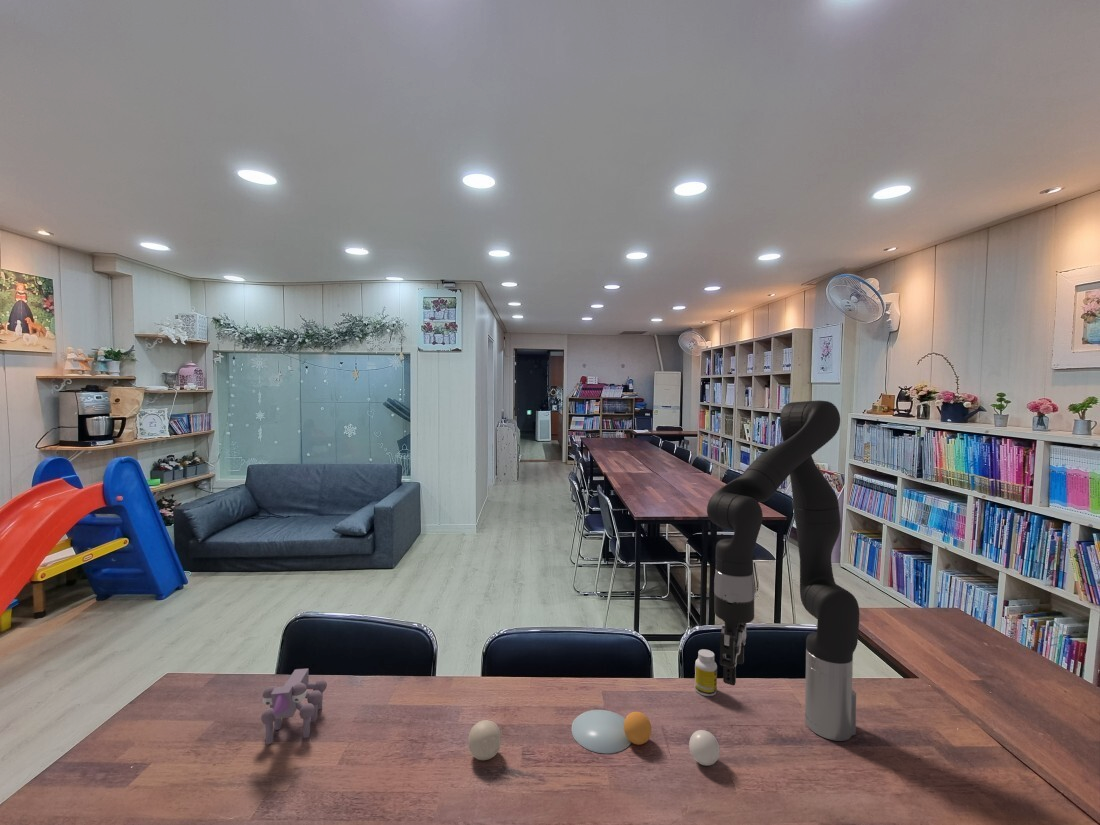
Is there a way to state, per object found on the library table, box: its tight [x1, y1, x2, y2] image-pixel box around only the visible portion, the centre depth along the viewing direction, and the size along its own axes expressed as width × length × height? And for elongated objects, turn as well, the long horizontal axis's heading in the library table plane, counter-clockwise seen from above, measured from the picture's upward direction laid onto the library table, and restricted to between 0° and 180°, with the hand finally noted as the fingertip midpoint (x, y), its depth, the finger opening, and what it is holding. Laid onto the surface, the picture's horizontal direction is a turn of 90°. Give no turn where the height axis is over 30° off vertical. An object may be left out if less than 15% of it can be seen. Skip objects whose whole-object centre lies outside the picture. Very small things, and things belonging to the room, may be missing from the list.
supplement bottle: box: [694, 648, 718, 697], centre depth 121 cm, size 5×5×10 cm
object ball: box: [624, 711, 652, 746], centre depth 103 cm, size 6×6×6 cm
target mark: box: [571, 709, 633, 755], centre depth 106 cm, size 14×14×1 cm
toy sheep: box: [260, 668, 328, 745], centre depth 103 cm, size 20×11×14 cm, turn 11°
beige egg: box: [467, 719, 502, 761], centre depth 98 cm, size 7×7×7 cm
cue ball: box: [688, 729, 720, 766], centre depth 97 cm, size 6×6×6 cm
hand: (733, 672), depth 95 cm, fingers open, 8 cm apart
